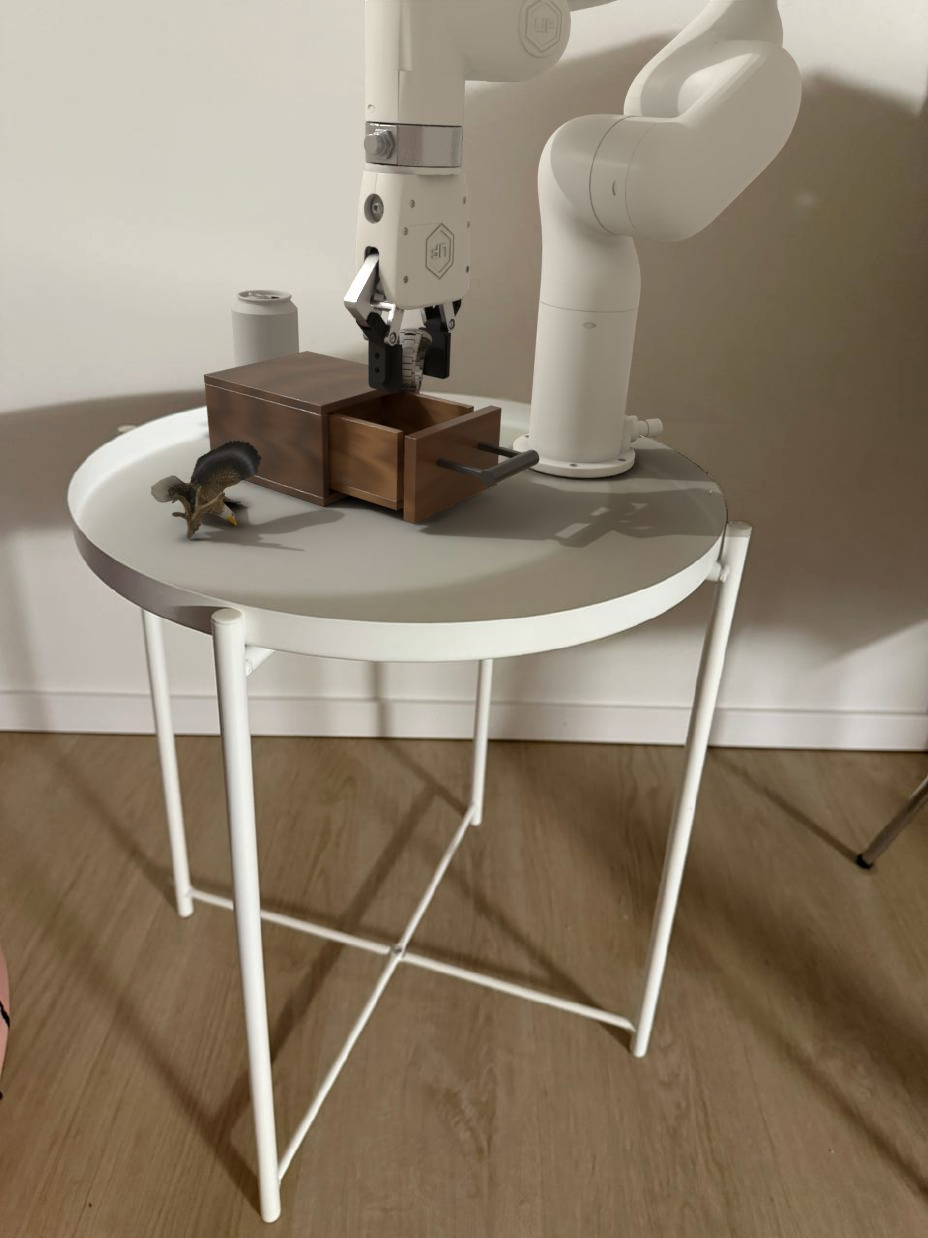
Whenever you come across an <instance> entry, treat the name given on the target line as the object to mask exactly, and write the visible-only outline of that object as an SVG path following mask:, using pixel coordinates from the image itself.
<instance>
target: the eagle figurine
mask: <svg viewBox="0 0 928 1238" xmlns="http://www.w3.org/2000/svg"><path fill="white" fill-rule="evenodd" d="M260 460H261V456H260V455H258V450H257V449H255V448H254V446H253V445H250V443H249V442H244V441H239V440H238V441H229V442H225V443H224V444H222V445H221V446H218V447H217V448H215V449H213V450H210V449H209V451H208V452H207V453H204V454H202V455H200V456H199V457H198V458H197V459H196V461H195V465H194V468H193V471H192V474H191V476H190V481H189V482H185V481H183V480H181V479H180V478H179V477H177V475H171V474H170V475H168V476H166V477H163V478H161V479H159V480H158V481H156V482H154V483H153V484H152V485H151V486H150V494H151V496H152V497H153V498H154V500H155V501H156V502H158V503H161V504H162V503H163V504H164V503H169V502H171V504H174V503H176V502H177V501H179V502H180V503H181V504H182V506H183V509H184V512H180V511H173V512H172V513H171V516H172V517H175V518H181V519H184V520H186V527H187V529H186V538H187V540H190V539H191V538H192V537H193V536H194V535H195V533H196V532H197V531H198V530H200V527H201V526H202V521H203V518H204V516H205V514H206V513H207V514H210V515H213V516H218V517H220V518H222V519H223V520H226V521H228V522H230V523H231V524H233V525H234V526H235V527H236V526H237V525H238V523H237V520H236V518H235V517H236V515H235V513H234V511H232V509H230V507H229V506H227V505H226V503H233V504H234V503H235V504H242V501H239V500H234V499H231V498H228V497H227V496H226V492H225V490H226V489H227V488H230V487H234V486H236V485H238V484H239V483H240V482H242V481H246V480H245V479H248V478H250V477H252V476H254V475H255V474H256V473H257V472H258V469H257V468H258V467H259V466H260Z"/></svg>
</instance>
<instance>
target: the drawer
mask: <svg viewBox="0 0 928 1238" xmlns="http://www.w3.org/2000/svg"><path fill="white" fill-rule="evenodd" d="M502 410H503V408H502V407H501V406H500V407H499V406H496V405H491V404H490V405H488V406H485V407H482V408H480V409H477V410H475V406H474V405H471V404H467V403H462V402H459V401H455V400H450V399H446V398H442V397H437V396H434V395H430V394H426V393H421V392H420V393H417V392H413V391H409V390H401V392H399V393H396V394H394V393H392V394H388V395H385V396H382V397H378V398H375V399H372V400H368V401H365V402H362V403H358V404H355V405H352V406H349V407H345V408H342V409H339V410H335V411H332V412H329V413H327V422H328V462H329V489H332V490H335V491H338V492H342V493H345V494H348V495H351V496H350V497H354V498H358V499H360V500H364V501H367V502H370V503H373V504H375V505H379V506H383V507H385V508H389V509H392V510H395V511H398V510H400V509H403V521H406V522H409V523H411V524H416V523H419V522H421V521H423V520H425V519H427V518H429V517H431V516H433V515H436V514H438V513H440V512H442V511H444V510H446V509H448V508H451V507H453V506H455V505H457V504H459V503H461V502H463V501H466V500H468V499H470V498H472V497H474V496H476V495H478V494H480V493H482V492H484V491H486V490H489V489H491V488H493V487H495V486H497V485H498V484H499V483H500V482H503V481H505V480H507V479H509V478H511V477H513V476H515V475H517V474H520V473H522V472H524V471H526V470H529V469H531V468H530V467H533V466H535V465H537V464H538V462H539V454H538V453H537V452H536V451H535V450H528V451H526V452H524V453H523V452H519V451H515V450H513V449H512V448H507V447H504V446H500V441H501V439H500V438H501V425H502V424H501V422H502ZM500 456H501V457H505V458H507V459H506V460H504V461H503V460H502V461H501V462H499V457H500Z"/></svg>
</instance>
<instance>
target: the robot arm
mask: <svg viewBox="0 0 928 1238" xmlns="http://www.w3.org/2000/svg"><path fill="white" fill-rule="evenodd" d="M616 1H617V0H364V121H365V123H364V136H365V137H364V140H363V148H364V151H365V152H364V153H365V156H364V159H365V160H364V161H365V162H364V163H365V165H364V166H365V167H364V170H363V172H362V177H361V183H360V190H359V197H358V198H359V199H358V206H357V207H358V208H357V219H356V232H355V234H356V235H355V236H356V237H355V278H354V280H353V282H352V283H351V285H350V287H349V289H348V291H347V293H346V295H345V296H344V299H343V305H344V307H345V309H346V310H347V311H348V312H349V314H350V315H351V317H352V318H353V319H354V320H355V323H356V325H357V326H358V327H359V329H360V330H361V332H362V338H363V339H364V340H365V341H367V344H368V346H367V347H368V349H367V351H368V353H367V354H368V359H367V360H368V361H367V362H368V363H367V365H368V383H369V386H370V387H371V388H373V389H377V390H381V391H386V392H390V393H394V394H396V393H399V392H401V390H402V362H403V348H402V344H397V340H398V336H399V331H400V329H401V327H402V322H403V318H404V315H405V311H412V310H413V311H414V310H418V309H419V311H420V312H419V313H420V315H421V320H422V324H423V326H420V327H418V328H417V329H420V330H423V331H426V332H427V333H429V334H430V335H431V338H432V344H431V345H430V346H429V347H428V348H427V350H426V351H425V356H424V365H423V376H428V377H431V378H436V379H441V380H446V379H448V378H449V377H450V374H451V373H450V372H451V347H452V346H451V344H452V332H454V330H455V329H456V325H457V321H456V316H457V314H458V313H459V311H460V309H461V307H462V302H463V300H464V299H465V297H466V295H467V294H468V292H469V290H470V287H471V284H472V283H471V251H472V250H471V249H472V248H471V247H472V246H471V245H472V243H471V213H470V200H469V191H468V183H467V178H466V172H465V171H462V166H463V165H462V164H463V143H464V122H465V121H464V119H465V118H464V116H465V94H466V93H465V92H466V91H465V89H466V81H469V82H470V81H471V82H489V83H522V82H527V81H528V82H529V81H531V80H534V79H537V78H539V77H541V76H543V75H544V74H546V73H548V72H549V71H550V70H551V69H552V68H554V66H555V65H556V64H558V62H559V61H560V59H561V58H562V56H563V54H564V53H565V51H566V49H567V46H568V43H569V40H570V37H571V28H572V27H571V26H572V19H571V16H572V15H571V13H572V12H576V11H577V12H578V11H580V10H581V11H582V10H585V9H586V10H587V9H591V8H596V7H600V6H604V5H608V4H611V3H613V2H616ZM778 6H779V5H778V0H709V1H708V3H707V4H706V6H705V7H704V8H703V10H701V11H700V13H698V14H697V15H696V16H695V18H694V19H693V20H692V21H691V22H690V23H689V24H688V25H686V27H685V28H683V29H682V30H681V31H680V32H679V33H678V34H677V35H676V36H674V38H673V39H672V40H670V41H669V42H668V43H667V44H666V45H664V47H663V48H662V49H660V51H659V52H658V53H656V54H655V55H654V56H653V57H652V58H650V60H649V61H648V62H647V63H646V64H645V65H644V66H643V68H642V69H641V70H640V71H639V73H637V75H636V76H635V78H634V79H633V80H632V82H631V85H630V86H629V89H628V91H627V93H626V96H625V99H624V104H623V114H615V113H613V114H612V113H596V114H595V113H594V114H586V115H582V116H578V117H575V118H572V119H570V120H567V122H565V123H563V124H562V125H561V126H559V127H558V128H556V130H555V131H554V132H553V133H552V134H551V135H550V137H549V138H548V140H547V142H546V143H545V145H544V147H543V150H542V152H541V155H540V159H539V163H538V170H537V193H538V194H537V196H538V204H539V205H538V206H539V214H540V224H541V225H540V226H541V245H542V248H541V250H542V251H541V272H540V273H541V275H540V286H539V287H540V289H539V299H538V312H537V313H538V314H537V325H536V337H535V349H534V365H533V375H532V376H533V377H532V391H531V401H530V415H529V429H528V433H526V434H523V435H521V436H519V437H518V438H516V439H515V440H514V441H513V445H512V450H515V451H519V452H523V453H524V452H526V451H528V450H535V451H536V452H537V453H538V454H539V462H538V464H537V465H535V466H533V467H530V468H529V469H531V470H533V471H536V472H540V473H544V474H547V475H553V476H558V477H566V478H578V479H579V478H580V479H591V478H593V479H594V478H606V477H611V476H617V475H619V474H622V473H625V472H627V471H629V470H630V469H631V468H632V467H634V464H635V461H636V460H635V459H636V452H635V450H634V448H633V447H632V446H631V443H635V442H636V441H637V440H638V439H641V438H642V437H641V436H640V435H642V436H644V437H647V438H646V439H649V438H650V439H651V438H659V437H660V436H662V434H663V431H664V426H663V425H664V424H663V421H662V420H661V419H660V418H658V417H657V418H649V419H648V418H647V419H642V420H639V418H638V416H637V415H627V414H626V409H627V402H628V401H627V400H628V393H629V384H630V377H631V369H632V362H633V361H632V360H633V355H634V354H633V352H634V346H635V345H634V344H635V338H636V337H635V336H636V329H637V321H638V313H639V307H640V299H641V289H642V277H641V266H640V260H639V255H638V252H637V249H636V245H635V242H634V238H636V239H642V240H648V241H654V242H662V243H663V242H664V243H676V242H681V241H685V240H687V239H690V238H692V237H694V236H695V235H697V234H699V233H701V231H703V230H704V229H705V228H707V227H708V226H709V225H710V224H711V223H713V221H715V219H716V218H718V217H719V216H720V215H721V214H722V213H723V212H724V211H725V210H726V209H727V208H728V207H729V206H730V205H731V204H732V203H733V202H734V201H735V200H736V199H737V198H738V196H740V195H741V194H742V193H743V192H744V190H746V188H747V187H748V186H750V184H751V183H753V181H754V180H755V179H757V177H758V176H760V175H761V173H762V172H763V171H764V170H765V169H766V168H767V167H768V166H769V165H770V164H771V163H772V162H773V160H775V158H777V156H778V155H779V153H781V151H782V149H783V148H784V146H785V145H786V143H787V141H788V140H789V137H790V136H791V134H792V132H793V129H794V126H795V125H796V121H797V119H798V115H799V112H800V107H801V102H802V95H803V92H802V91H803V90H802V89H803V87H802V85H803V83H802V77H801V73H800V69H799V66H798V64H797V61H795V59H794V57H793V55H792V54H791V53H790V52H789V51H788V50H787V49H786V48H784V47H783V45H784V28H783V21H782V18H781V17H782V16H781V14H780V11H779V8H778ZM383 312H385V313H386V312H387V313H388V317H387V321H385V320H384V318H383V317H382V314H383ZM642 439H643V438H642Z"/></svg>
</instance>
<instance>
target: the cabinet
mask: <svg viewBox="0 0 928 1238" xmlns="http://www.w3.org/2000/svg"><path fill="white" fill-rule="evenodd" d="M203 383H204V392H205V393H204V394H205V403H206V404H205V405H206V414H207V416H206V417H207V426H208V441H209V451H210V450H213V449H215V448H217V447H218V446H221V445H222V444H224V443H225V442H229V441H238V440H239V441H244V442H249V443H250V445H253V446H254V448H255V449H257V450H258V455H260V456H261V460H260V466H259V467H258V468H257V469H258V472H257V473H256V474H255V475H254V476H252V477H250V478H248V479H245V480H244V481H247V482H250V483H253V484H256V485H259V486H261V487H265V488H267V489H270V490H273V491H277V492H279V493H282V494H286V495H288V496H292V497H294V498H298V499H300V500H303V501H306V502H309V503H311V504H315V505H318V506H321V507H326V506H329V505H331V504H334V503H337V502H338V501H341V500H343V499H346V498H349V497H352V496H351V495H348V494H345V493H342V492H338V491H335V490H332V489H329V462H328V422H327V413H329V412H332V411H335V410H339V409H342V408H345V407H349V406H352V405H355V404H358V403H362V402H365V401H368V400H372V399H375V398H378V397H382V396H385V395H388V394H392V393H390V392H386V391H381V390H377V389H373V388H371V387H370V386H369V383H368V364H366V363H362V362H357V361H352V360H348V359H344V358H340V357H336V356H331V355H326V354H323V353H318V352H313V351H310V350H305V351H301V352H299V353H296V354H292V355H287V356H283V357H279V358H274V359H270V360H266V361H261V362H257V363H252V364H248V365H244V366H239V367H235V366H234V367H230V368H226V369H222V370H218V371H213V372H209V373H204V374H203ZM409 391H413V392H417V393H421V389H420V390H418V391H415V390H409Z"/></svg>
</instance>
